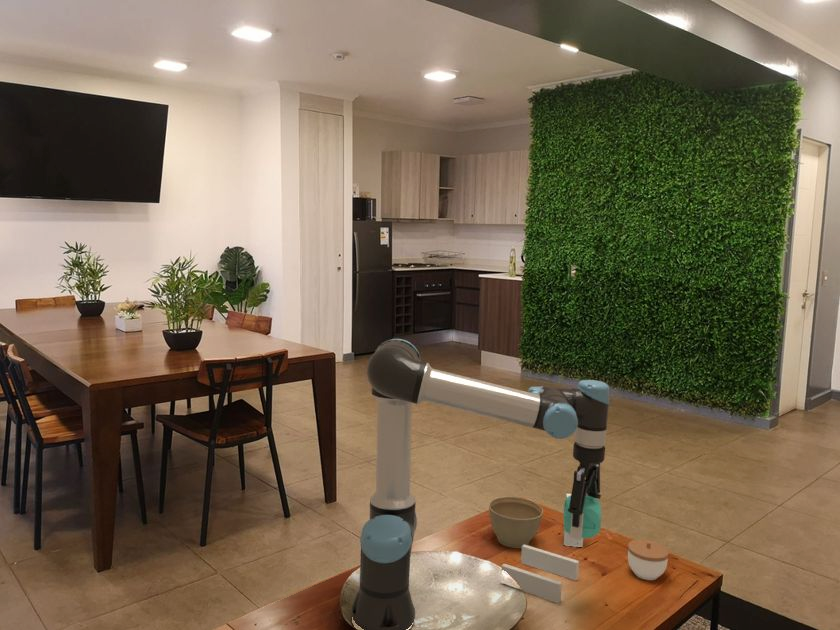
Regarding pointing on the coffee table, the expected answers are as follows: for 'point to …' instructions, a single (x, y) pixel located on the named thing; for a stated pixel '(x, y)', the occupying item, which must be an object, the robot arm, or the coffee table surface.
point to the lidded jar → (647, 559)
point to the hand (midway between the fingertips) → (582, 530)
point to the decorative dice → (585, 517)
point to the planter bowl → (515, 520)
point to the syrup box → (571, 541)
